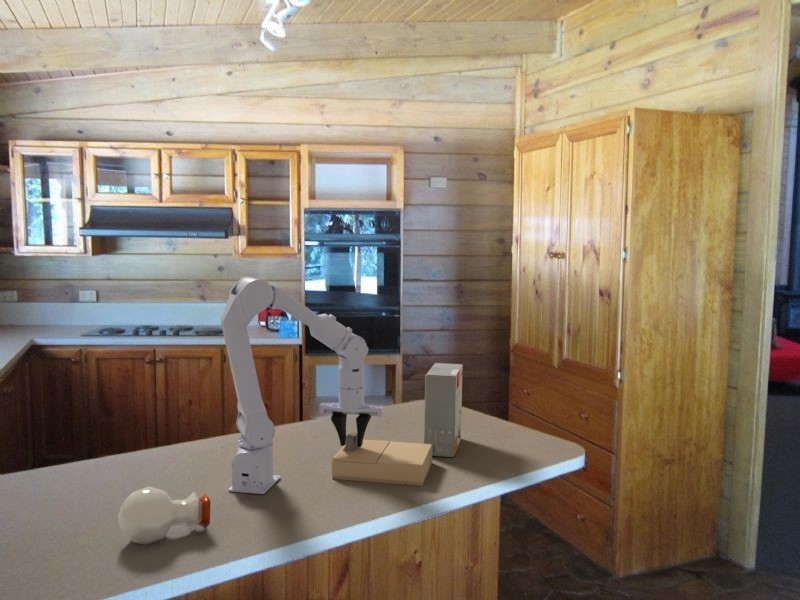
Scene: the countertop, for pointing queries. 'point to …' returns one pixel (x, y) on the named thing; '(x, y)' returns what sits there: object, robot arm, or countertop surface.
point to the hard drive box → (443, 408)
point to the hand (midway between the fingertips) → (351, 445)
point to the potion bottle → (160, 514)
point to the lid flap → (361, 450)
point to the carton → (390, 465)
